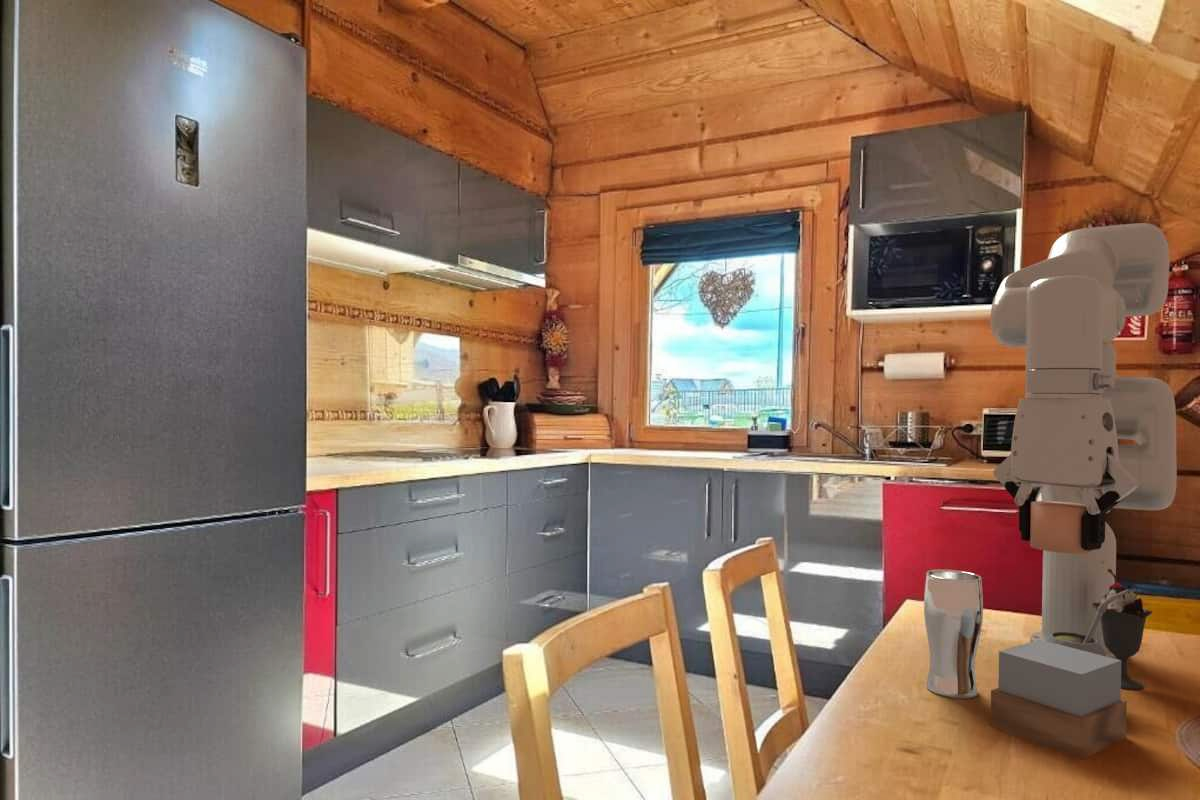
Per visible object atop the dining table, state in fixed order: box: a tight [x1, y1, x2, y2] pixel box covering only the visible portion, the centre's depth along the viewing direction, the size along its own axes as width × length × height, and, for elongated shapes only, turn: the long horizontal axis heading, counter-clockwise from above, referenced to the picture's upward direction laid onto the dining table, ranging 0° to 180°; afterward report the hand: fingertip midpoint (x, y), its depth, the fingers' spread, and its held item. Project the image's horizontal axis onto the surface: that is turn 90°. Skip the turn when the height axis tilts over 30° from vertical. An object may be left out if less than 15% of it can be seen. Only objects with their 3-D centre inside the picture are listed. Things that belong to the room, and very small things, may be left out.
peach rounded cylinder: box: [1029, 500, 1091, 554], centre depth 90 cm, size 6×6×5 cm
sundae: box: [1092, 569, 1153, 691], centre depth 106 cm, size 7×7×15 cm
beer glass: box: [923, 569, 984, 700], centre depth 102 cm, size 7×7×15 cm
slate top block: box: [997, 640, 1122, 717], centre depth 90 cm, size 9×9×4 cm
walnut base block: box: [990, 687, 1128, 760], centre depth 90 cm, size 10×10×4 cm
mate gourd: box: [1045, 590, 1128, 656], centre depth 99 cm, size 8×8×15 cm
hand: (1060, 542), depth 90 cm, fingers closed on peach rounded cylinder, 6 cm apart
